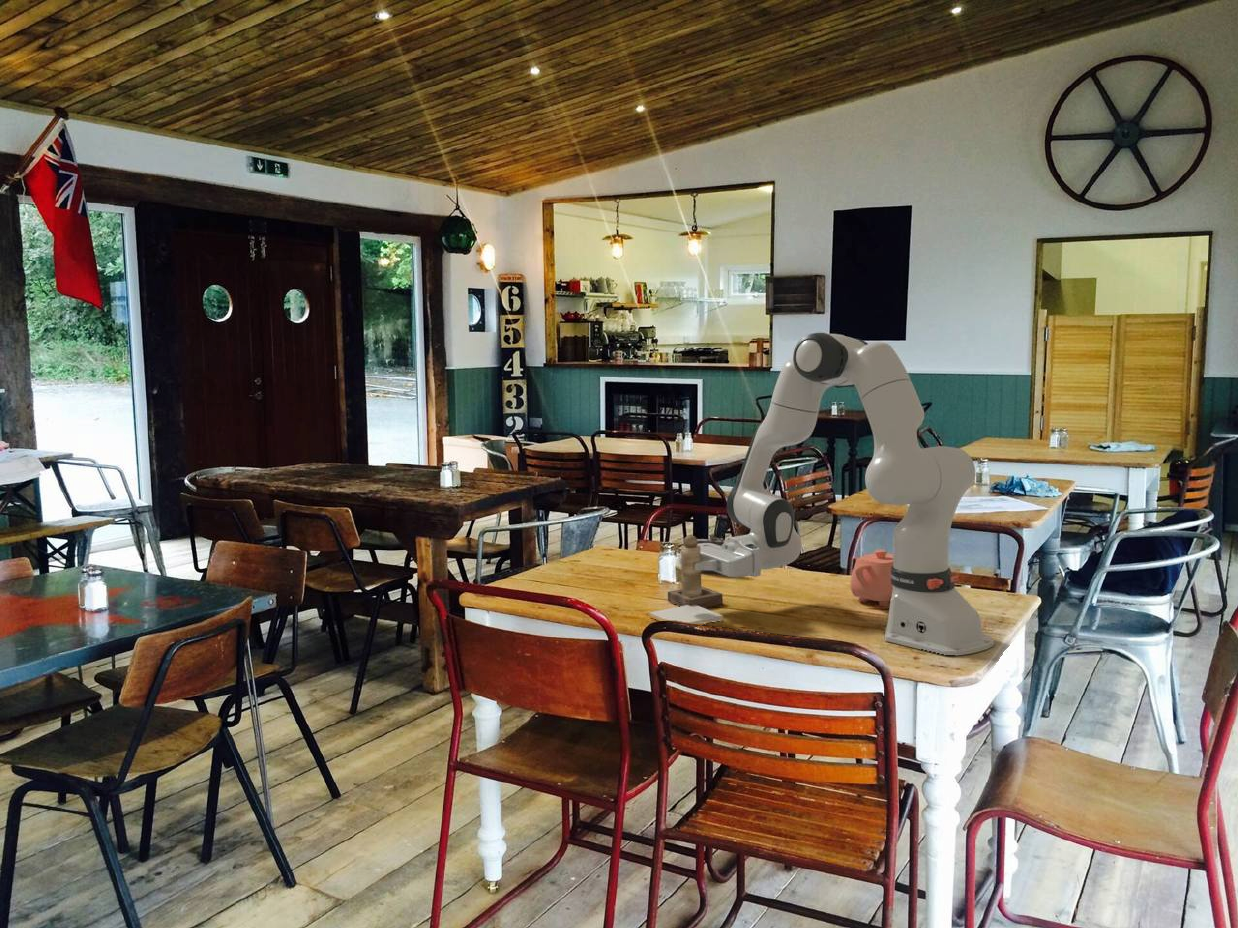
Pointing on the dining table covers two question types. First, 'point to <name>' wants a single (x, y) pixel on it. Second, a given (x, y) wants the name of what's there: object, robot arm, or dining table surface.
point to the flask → (714, 541)
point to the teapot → (873, 578)
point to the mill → (690, 567)
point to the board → (688, 614)
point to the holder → (696, 598)
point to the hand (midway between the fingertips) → (687, 564)
